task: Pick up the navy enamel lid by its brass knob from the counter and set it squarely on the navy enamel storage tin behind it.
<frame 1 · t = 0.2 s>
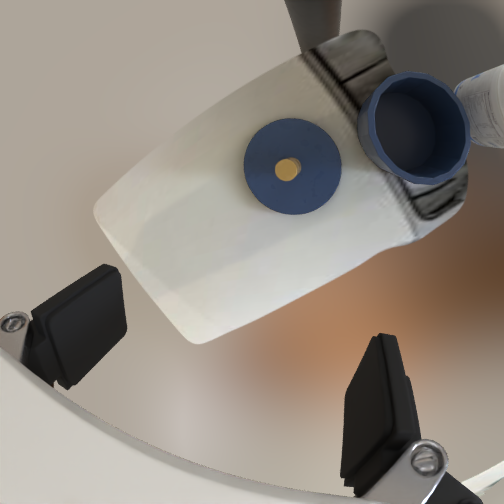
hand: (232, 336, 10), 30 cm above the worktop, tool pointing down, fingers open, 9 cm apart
supplement tub: (475, 112, 26), on the worktop
lid: (292, 166, 35), point 1 cm above the worktop
tin: (399, 131, 30), on the worktop
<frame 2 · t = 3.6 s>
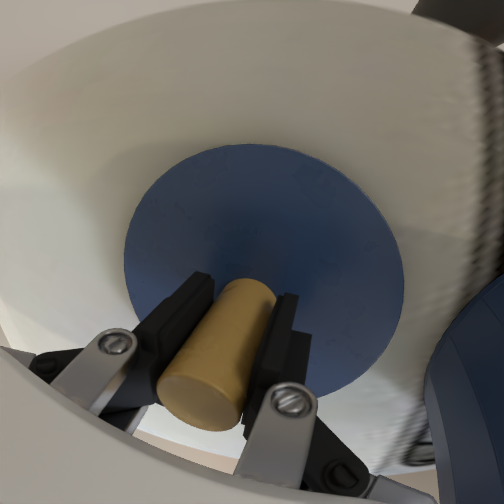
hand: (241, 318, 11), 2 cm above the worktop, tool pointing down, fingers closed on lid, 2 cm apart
lid: (252, 298, 12), point 1 cm above the worktop, touching gripper
when the fingers open (11 cm above the worktop, at t = 10.1 s): lid stays where it is, resting on tin.
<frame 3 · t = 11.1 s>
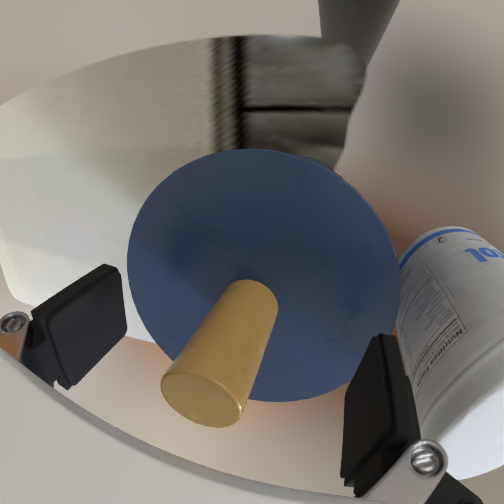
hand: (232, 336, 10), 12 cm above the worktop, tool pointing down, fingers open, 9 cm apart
supplement tub: (439, 279, 19), on the worktop
lid: (252, 298, 12), point 9 cm above the worktop, touching tin
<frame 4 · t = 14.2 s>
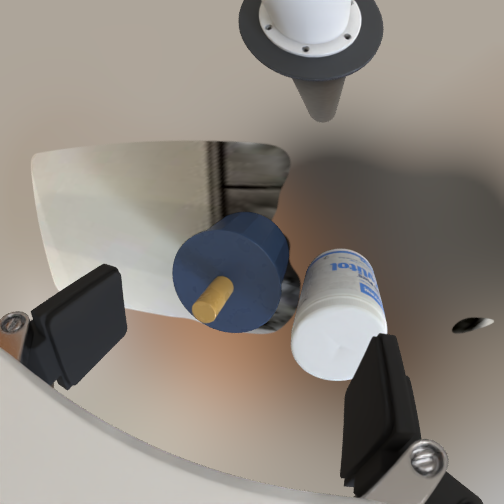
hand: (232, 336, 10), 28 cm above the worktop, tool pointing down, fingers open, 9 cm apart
supplement tub: (338, 278, 38), on the worktop
lid: (224, 283, 31), point 9 cm above the worktop, touching tin
tin: (247, 252, 40), on the worktop
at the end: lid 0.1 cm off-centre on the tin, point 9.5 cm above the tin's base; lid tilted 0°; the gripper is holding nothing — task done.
